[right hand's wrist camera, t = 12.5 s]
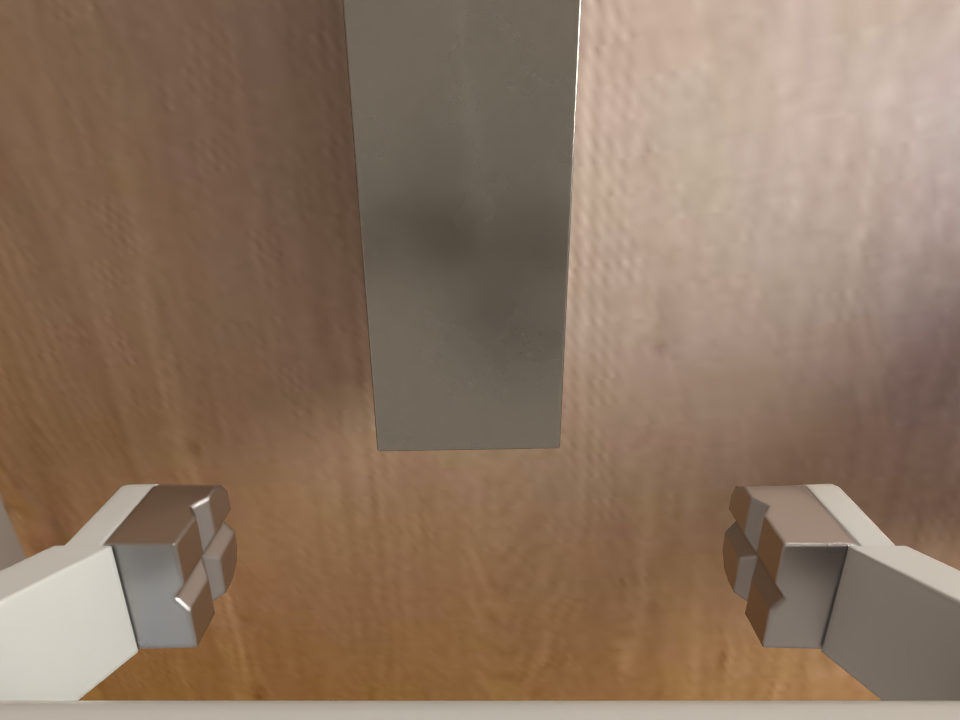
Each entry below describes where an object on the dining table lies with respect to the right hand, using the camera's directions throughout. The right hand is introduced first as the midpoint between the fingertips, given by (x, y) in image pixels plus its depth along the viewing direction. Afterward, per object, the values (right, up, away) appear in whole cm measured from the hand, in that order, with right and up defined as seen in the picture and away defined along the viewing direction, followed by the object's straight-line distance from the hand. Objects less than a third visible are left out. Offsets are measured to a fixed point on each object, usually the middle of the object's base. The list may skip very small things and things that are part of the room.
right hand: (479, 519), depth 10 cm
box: (-1, +15, +17) cm, 23 cm away
